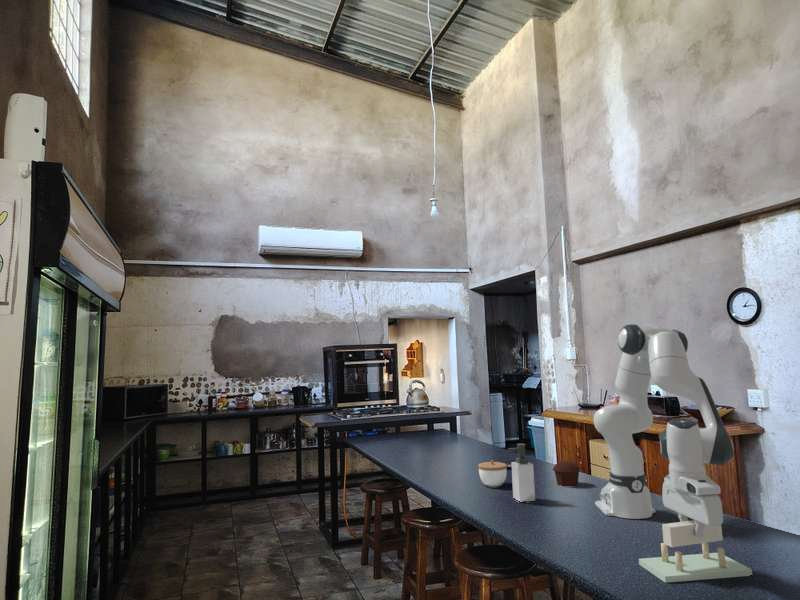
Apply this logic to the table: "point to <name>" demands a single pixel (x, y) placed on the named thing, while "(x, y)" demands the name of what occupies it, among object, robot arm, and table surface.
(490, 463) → the lidded bowl
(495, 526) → the table surface
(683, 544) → the off-white rectangular block
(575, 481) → the muffin
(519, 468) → the soap dispenser
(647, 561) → the rack
